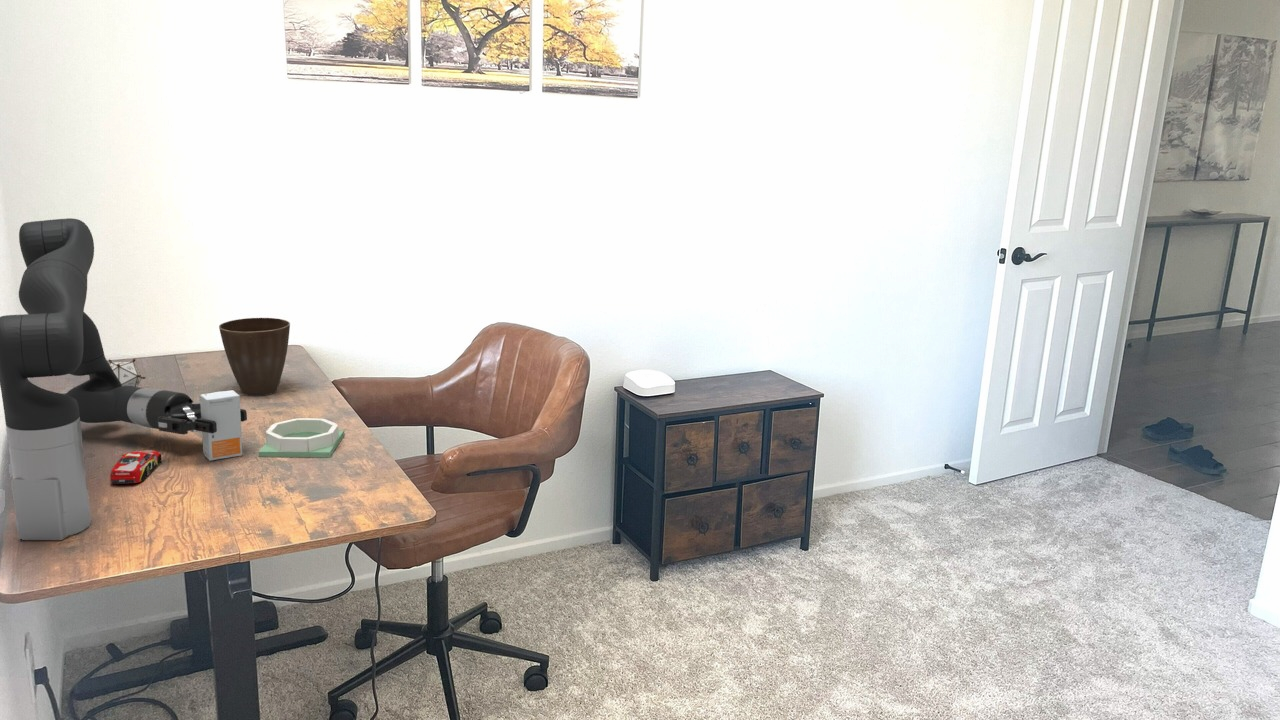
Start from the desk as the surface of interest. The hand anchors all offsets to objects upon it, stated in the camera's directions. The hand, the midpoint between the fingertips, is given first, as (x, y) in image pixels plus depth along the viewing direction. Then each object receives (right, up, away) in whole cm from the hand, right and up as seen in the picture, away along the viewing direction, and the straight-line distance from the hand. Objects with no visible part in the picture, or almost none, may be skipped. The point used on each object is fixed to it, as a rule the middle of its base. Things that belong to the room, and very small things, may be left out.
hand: (230, 421), depth 169 cm
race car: (-13, -9, -7) cm, 18 cm away
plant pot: (-12, +4, +42) cm, 44 cm away
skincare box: (-2, -7, +2) cm, 8 cm away
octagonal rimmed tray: (+10, -5, +10) cm, 15 cm away
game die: (-40, +3, +35) cm, 53 cm away
